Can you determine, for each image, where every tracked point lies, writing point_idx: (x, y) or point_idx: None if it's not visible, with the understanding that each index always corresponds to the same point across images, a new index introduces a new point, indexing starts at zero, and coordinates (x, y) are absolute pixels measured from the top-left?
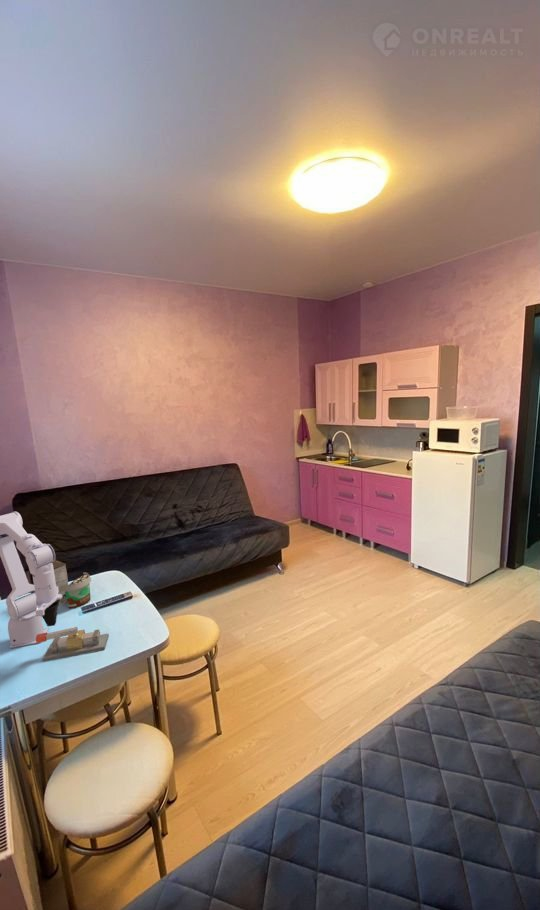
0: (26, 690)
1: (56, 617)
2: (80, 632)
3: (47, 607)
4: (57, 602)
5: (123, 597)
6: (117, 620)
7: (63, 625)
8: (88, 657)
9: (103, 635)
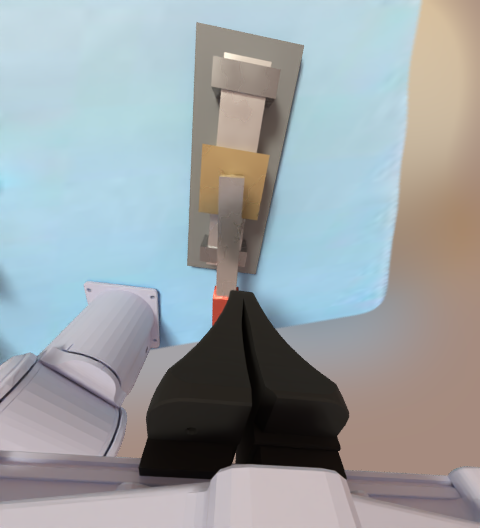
0: (356, 286)
1: (228, 303)
2: (222, 162)
3: (337, 464)
4: (249, 406)
5: None
6: None
7: (69, 241)
8: (315, 129)
9: (206, 54)
